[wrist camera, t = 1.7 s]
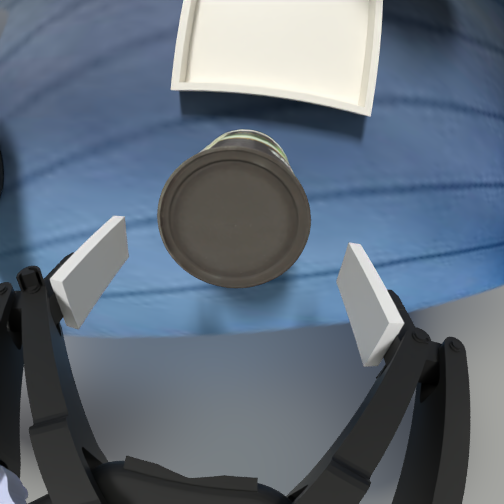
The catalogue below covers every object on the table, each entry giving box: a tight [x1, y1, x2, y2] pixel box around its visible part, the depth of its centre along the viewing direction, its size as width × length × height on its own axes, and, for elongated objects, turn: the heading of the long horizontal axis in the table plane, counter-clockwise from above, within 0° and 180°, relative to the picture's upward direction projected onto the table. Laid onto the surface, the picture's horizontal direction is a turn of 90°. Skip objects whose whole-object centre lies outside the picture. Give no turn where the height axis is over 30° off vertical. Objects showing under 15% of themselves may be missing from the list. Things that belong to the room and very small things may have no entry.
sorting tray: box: [171, 0, 383, 116], centre depth 19 cm, size 20×20×3 cm
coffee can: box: [157, 130, 311, 288], centre depth 24 cm, size 10×10×14 cm
